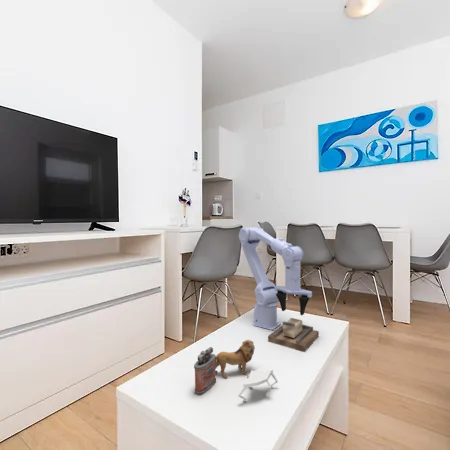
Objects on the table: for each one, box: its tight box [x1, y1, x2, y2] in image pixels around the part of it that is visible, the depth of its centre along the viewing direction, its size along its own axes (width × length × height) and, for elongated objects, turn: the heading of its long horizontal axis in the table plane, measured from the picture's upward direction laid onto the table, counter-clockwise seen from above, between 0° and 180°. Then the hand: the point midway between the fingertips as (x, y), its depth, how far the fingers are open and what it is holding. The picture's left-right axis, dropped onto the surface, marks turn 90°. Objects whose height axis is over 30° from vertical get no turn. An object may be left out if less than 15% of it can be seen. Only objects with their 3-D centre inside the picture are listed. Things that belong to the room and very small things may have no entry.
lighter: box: [193, 346, 217, 396], centre depth 76 cm, size 8×3×10 cm, turn 148°
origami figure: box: [237, 369, 279, 403], centre depth 72 cm, size 12×8×5 cm
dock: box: [267, 324, 319, 353], centre depth 105 cm, size 14×15×3 cm
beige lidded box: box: [282, 317, 303, 338], centre depth 104 cm, size 4×8×6 cm, turn 143°
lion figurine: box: [215, 339, 256, 379], centre depth 82 cm, size 15×5×9 cm, turn 112°
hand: (292, 312), depth 107 cm, fingers open, 7 cm apart
